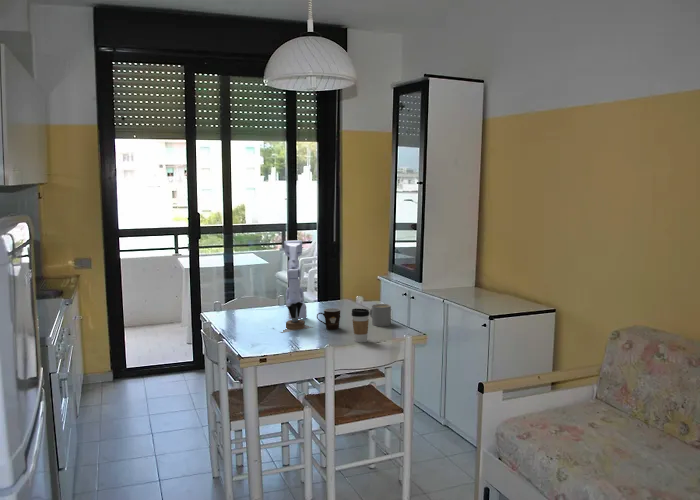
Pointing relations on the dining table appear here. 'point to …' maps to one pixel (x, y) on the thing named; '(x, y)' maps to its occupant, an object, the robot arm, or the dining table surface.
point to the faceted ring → (295, 324)
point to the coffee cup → (360, 324)
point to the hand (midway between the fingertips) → (295, 317)
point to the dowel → (295, 318)
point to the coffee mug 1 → (331, 318)
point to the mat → (295, 330)
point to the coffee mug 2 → (381, 314)
